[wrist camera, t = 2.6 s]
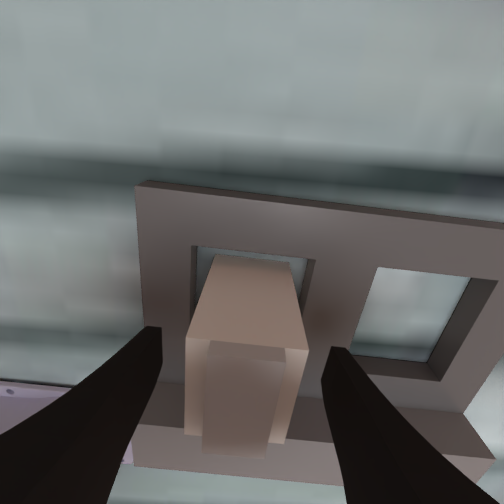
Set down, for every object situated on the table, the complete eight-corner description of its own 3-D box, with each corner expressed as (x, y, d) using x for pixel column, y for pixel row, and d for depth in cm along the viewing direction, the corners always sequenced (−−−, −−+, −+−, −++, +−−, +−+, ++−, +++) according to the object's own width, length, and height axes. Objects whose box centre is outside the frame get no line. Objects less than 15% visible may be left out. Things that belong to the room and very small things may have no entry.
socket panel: (157, 403, 19) (132, 470, 15) (146, 180, 13) (98, 201, 9) (426, 430, 20) (466, 502, 16) (549, 228, 13) (668, 267, 9)
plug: (210, 326, 16) (180, 450, 10) (215, 253, 14) (180, 351, 8) (275, 333, 16) (285, 461, 10) (288, 262, 14) (312, 365, 8)
